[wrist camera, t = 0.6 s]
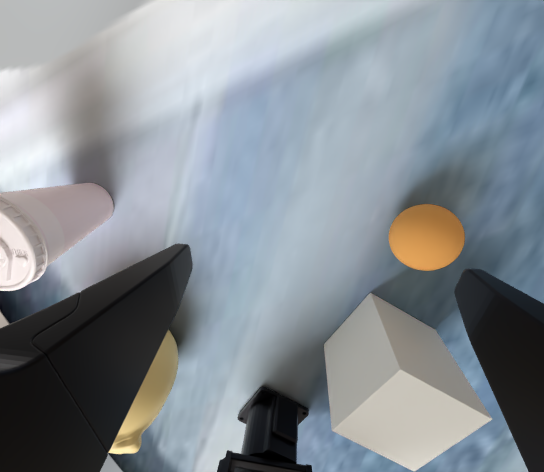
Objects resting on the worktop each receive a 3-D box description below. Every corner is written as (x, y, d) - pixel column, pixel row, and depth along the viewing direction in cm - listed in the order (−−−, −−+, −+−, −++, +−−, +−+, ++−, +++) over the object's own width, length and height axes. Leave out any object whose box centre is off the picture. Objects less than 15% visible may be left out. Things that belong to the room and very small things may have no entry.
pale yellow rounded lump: (80, 349, 33) (-15, 448, 23) (105, 275, 29) (1, 358, 19) (168, 390, 34) (113, 499, 24) (205, 325, 30) (157, 427, 20)
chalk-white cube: (384, 376, 30) (414, 471, 22) (323, 344, 29) (331, 430, 21) (435, 329, 27) (492, 419, 19) (370, 292, 26) (400, 369, 18)
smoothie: (84, 242, 27) (-110, 351, 14) (46, 179, 25) (-222, 241, 12) (140, 225, 26) (-19, 329, 13) (105, 157, 24) (-127, 201, 11)
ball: (416, 262, 25) (442, 295, 20) (369, 234, 24) (385, 261, 19) (458, 216, 23) (498, 241, 18) (408, 185, 22) (436, 202, 18)
